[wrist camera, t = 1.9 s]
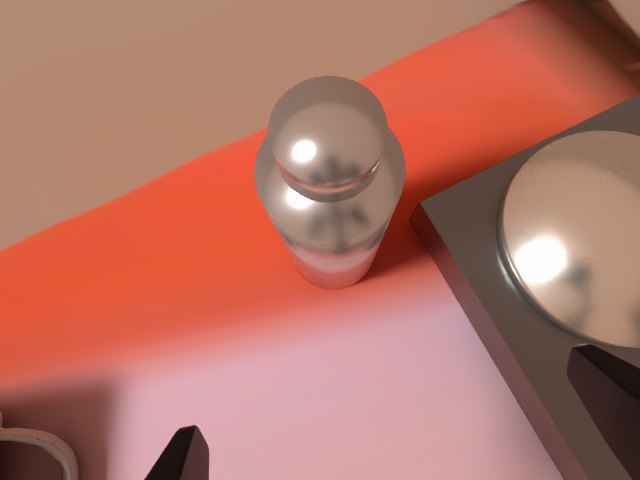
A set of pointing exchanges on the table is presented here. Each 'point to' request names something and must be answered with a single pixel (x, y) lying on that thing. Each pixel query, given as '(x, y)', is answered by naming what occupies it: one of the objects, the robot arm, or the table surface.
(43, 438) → the ceramic mug
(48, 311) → the table surface
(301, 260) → the steel weight
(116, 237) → the table surface
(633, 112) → the bench scale
